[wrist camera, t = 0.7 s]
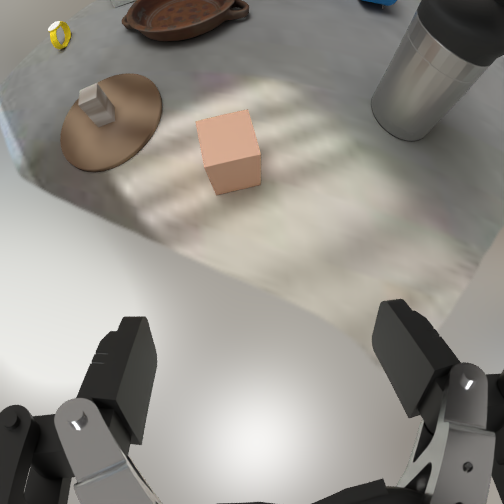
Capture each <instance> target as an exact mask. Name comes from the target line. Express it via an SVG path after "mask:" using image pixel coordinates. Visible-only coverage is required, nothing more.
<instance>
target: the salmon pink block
mask: <svg viewBox="0 0 504 504" xmlns="http://www.w3.org/2000/svg"><path fill="white" fill-rule="evenodd" d="M196 127H197V132H198V137H199V142H200V148H201V153H202V158H203V163H204V168H205V170H206V172H207V175H208V177H209V179H210V182H211V184H212V186H213V189H214V191H215V193H216V195H219V194H224V193H228V192H232V191H236V190H240V189H245V188H249V187H253V186H258V185H261V153H260V149H259V146H258V142H257V139H256V135H255V132H254V128H253V125H252V121H251V118H250V114H249V111H248V109H247V110H243V111H238V112H233V113H229V114H224V115H220V116H216V117H211V118H207V119H203V120H199V121H196Z"/></svg>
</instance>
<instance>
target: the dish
mask: <svg viewBox="0 0 504 504" xmlns="http://www.w3.org/2000/svg"><path fill="white" fill-rule="evenodd" d="M235 7H237V8H241V10H232V9H231V8H235ZM248 13H249V5H248V4H247V3H246V2H244V1H242V0H137V1H136V2H135V3H134V4H133V5H132V6H131V7H130V9H129V11H128V12H127V15H125V16H124V17H123V19H122V24H123V25H124V26H125V27H126V28H127V29H137V30H138V31H140V32H141V33H142V34H143V35H145V36H146V37H148V38H150V39H153V40H158V41H177V40H184V39H188V38H192V37H195V36H199V35H201V34H204V33H206V32H209V31H211V30H212V29H214V28H216V27H217V26H219V25H220V24H221V23H222V22H224V21H225V20H233V19H239V18H243V17H246V16H247V15H248Z"/></svg>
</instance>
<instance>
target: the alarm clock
mask: <svg viewBox="0 0 504 504" xmlns="http://www.w3.org/2000/svg"><path fill="white" fill-rule="evenodd" d="M363 1H368V2H373V3H377V4H382V9H384V6H385V5H386V6H390V5H392V4H394V3H395V2H396V1H397V0H363Z"/></svg>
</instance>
